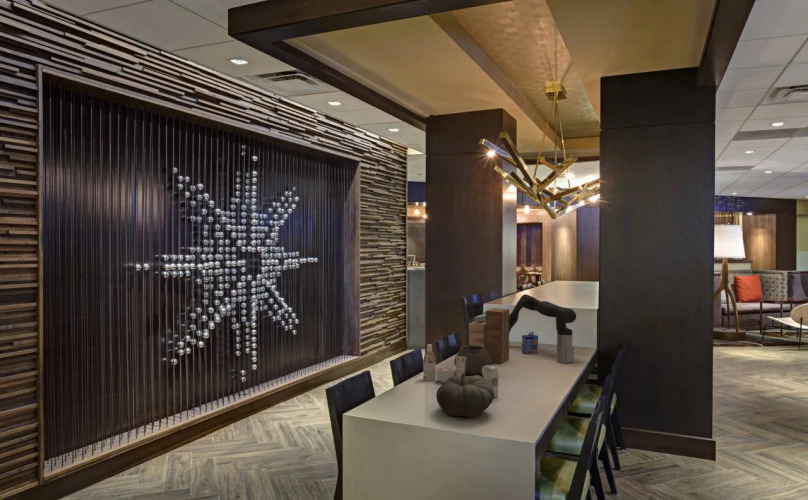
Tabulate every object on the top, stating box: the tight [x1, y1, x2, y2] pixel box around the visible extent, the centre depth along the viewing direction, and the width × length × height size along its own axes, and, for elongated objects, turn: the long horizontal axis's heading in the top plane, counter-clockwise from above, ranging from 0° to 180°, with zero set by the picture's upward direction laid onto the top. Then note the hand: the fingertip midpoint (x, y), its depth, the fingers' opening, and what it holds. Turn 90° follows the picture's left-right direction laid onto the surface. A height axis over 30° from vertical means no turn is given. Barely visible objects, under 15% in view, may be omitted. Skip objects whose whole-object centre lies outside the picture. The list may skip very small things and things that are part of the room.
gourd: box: [436, 373, 495, 418], centre depth 234 cm, size 25×25×17 cm
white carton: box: [481, 364, 499, 398], centre depth 260 cm, size 6×6×14 cm
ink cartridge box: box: [521, 331, 539, 355], centre depth 364 cm, size 10×6×14 cm, turn 115°
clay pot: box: [453, 344, 493, 376], centre depth 305 cm, size 22×21×15 cm
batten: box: [474, 313, 486, 322], centre depth 360 cm, size 26×4×3 cm, turn 152°
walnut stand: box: [485, 307, 510, 365], centre depth 340 cm, size 16×10×32 cm, turn 152°
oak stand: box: [468, 320, 486, 348], centre depth 355 cm, size 18×10×22 cm, turn 152°
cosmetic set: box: [422, 343, 467, 384], centre depth 288 cm, size 25×9×19 cm, turn 60°
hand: (487, 313), depth 366 cm, fingers closed on batten, 3 cm apart
